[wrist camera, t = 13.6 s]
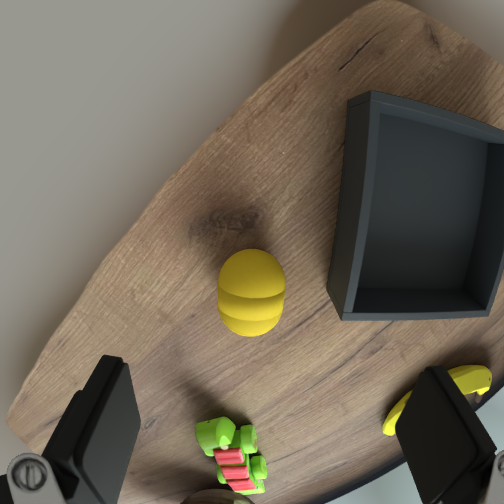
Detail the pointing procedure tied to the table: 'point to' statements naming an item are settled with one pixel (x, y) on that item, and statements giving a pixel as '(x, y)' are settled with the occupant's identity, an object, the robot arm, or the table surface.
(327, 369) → the table surface
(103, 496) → the robot arm
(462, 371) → the banana
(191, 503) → the wooden sphere
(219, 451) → the toy crocodile
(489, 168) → the crate
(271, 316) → the yellow rounded tiered object
